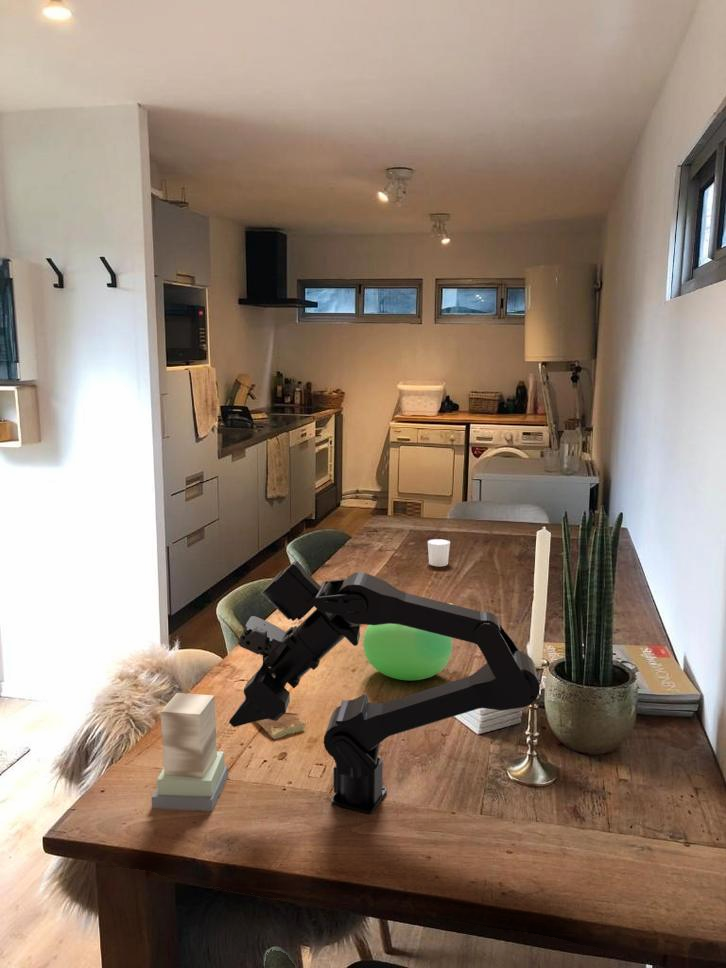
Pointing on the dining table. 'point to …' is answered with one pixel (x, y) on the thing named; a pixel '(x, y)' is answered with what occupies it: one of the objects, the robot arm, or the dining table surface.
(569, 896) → the dining table surface
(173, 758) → the maple column
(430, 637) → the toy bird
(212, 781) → the tower top slab
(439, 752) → the dining table surface
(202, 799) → the tower bottom slab
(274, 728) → the shard
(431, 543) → the white short cylinder
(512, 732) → the dining table surface
